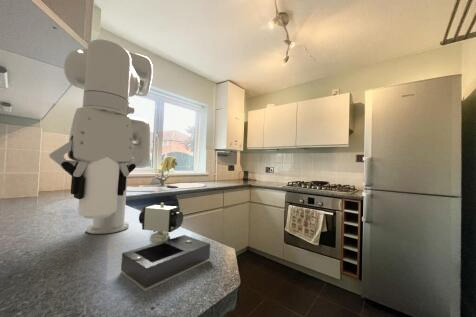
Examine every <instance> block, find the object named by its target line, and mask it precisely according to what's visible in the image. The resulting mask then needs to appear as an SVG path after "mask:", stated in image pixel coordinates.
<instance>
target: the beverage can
mask: <svg viewBox="0 0 476 317" xmlns="http://www.w3.org/2000/svg"><path fill="white" fill-rule="evenodd" d="M119 168H120V165H119V163H117V162H115V161H113V160H112V159H109V158H108V157H105V158H103V159H100V160H98V161H94V162H89V163H88V165H87V166H86V168H85V170H84V171H83V177H84V178H85V185H84V197H83V198H82V199H78V211H77V212H78V213H77V214H78V215H79V216H81V217H82V218H84V219H86V220H87V219H88V220H93V219H99V218H105V217H108V216H110V215H111V214H112V213H114V212H116V208H117V195H118V182H119Z"/></svg>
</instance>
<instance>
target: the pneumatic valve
mask: <svg viewBox="0 0 476 317" xmlns="http://www.w3.org/2000/svg"><path fill="white" fill-rule="evenodd" d="M180 209H181V207H180V206H171V205H165V203H164V202H160V205H159V204H158V205H157V204H152V205H148V206H144V207H143V209H142V210H141V211H140V213H139V216H138V222H139V223H140V224H141V229H142V230H143V231H153V233H152V234H150V237H149V242H150V245H152V244H155V243H159V242H162V241H165V240H169V239H171V236H170V233H172V232H174V231H175V230H177V229H179V228H180V227H181V226H182V224H183V222H184V213H183V212H182V211H181V210H180Z"/></svg>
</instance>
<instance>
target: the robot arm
mask: <svg viewBox="0 0 476 317" xmlns="http://www.w3.org/2000/svg"><path fill="white" fill-rule="evenodd" d="M63 72H64V74H65V77H66V80H67V81H68V82H69V83H70V84H71V85H72V86H73V87H75V88H79V89H81V90H83V97H82V98H83V99H82V107H79V108H76V110H75V111H74V112H75V113H74V115H73V116H74V117H73V118H72V122H71V127H70V132H69V139H68V142H66V143H65V144H63V145H61V146H59V147H58V148H57V149H55V150H53V151H52V152H50V153H49V154H48V157H49V158H50V159H51V160H52V161H53V162H55V163H56V164H57V165H59V166H60V168H61V169H63V170H64V171H65V172H67V173H68V174H69V176H71V182H70V183H71V184H70V194H71V195H73V198H75V199H77V200H79V199H82V198H83V197H84V185H85V178H84V177H83V171H84V170H85V168H86V166H87V165H88V163H89V162H94V161H98V160H100V159H103V158H105V157H108V158H109V159H112V160H113V161H115V162H117V163H119V165H120V168H119V182H118V195H117V208H116V212H114V213H112V214H111V215H110V216H108V217H105V218H99V219H92V224H91V225H89V226H87V227H86V232H87V233H88V234H92V235H103V234H106V235H107V234H112V233H118V232H121V231H125V230H126V229H128V228H129V227H130V226H129V225H130V224H129V222H126V221H125V216H126V204H127V203H126V202H127V201H126V198H127V188H128V186H127V185H128V180H127V177H129V175H130V174H131V173H132V172H133V171H134V170H135V169H143V168H146V167H148V165H149V162H150V154H151V153H150V152H151V151H150V150H151V149H150V148H151V147H150V145H151V144H150V143H151V127H150V123H149V121H148V120H146V119H144V118H139V117H133V116H131V115H134V113H135V108H134V107H132V106H131V105H130V102H129V99H130V97H134V96H137V97H147V96H148V95H149V94H150V90H151V85H152V80H153V74H154V69H153V64H152V61H151V59H150V58H149V57H148V56H147V55H146V56H145V55H142V54H139V53H135V52H132V51H128V50H126V48H125V47H124V46H122V45H120V44H118V43H116V42H113V41H111V40H107V39H100V38H99V39H94V40H91V41H90V42H89V43H88V46H87V48H76V49H73V50H71V51H70V52H69V53H68V54H67V55H66V58H65V60H64V64H63ZM65 155H67V157H68V159H70V160H72V161H75V163H74V164H73V163H71V162H70V161H68V159H66V157H65Z"/></svg>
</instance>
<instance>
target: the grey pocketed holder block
mask: <svg viewBox="0 0 476 317" xmlns="http://www.w3.org/2000/svg"><path fill="white" fill-rule="evenodd" d="M210 257H211V243H208V242H206V241H203V240H201V239H197V238H193V237H192V236H188V235H185V234H183V235H180V236H177V237H172V238H170V239H169V240H165V241H162V242H159V243H155V244H152V245H151V244H148V245H145V246H142V247H138V248H135V249H131V250H127V251H124V252H122V253H121V268H120V273H121V274H122V275H123V276H124V277H126V278H127V279H128V280H130V281H131V282H132V283H134V284H135V285H136V286H138V287H139V288H140V289H141V290H142V291H144V292H147V291H149V290H151V289H153V288H156V287H158V286H159V285H161V284H164V283H165V282H169V281H171V280H172V279H175V278H176V277H179V276H180V275H182V274H185V273H187V272H189V271H192V270H193V269H195V268H197V267H199V266H202V265H204V264H206V263H208V262H209V261H210V260H211V259H210Z"/></svg>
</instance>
